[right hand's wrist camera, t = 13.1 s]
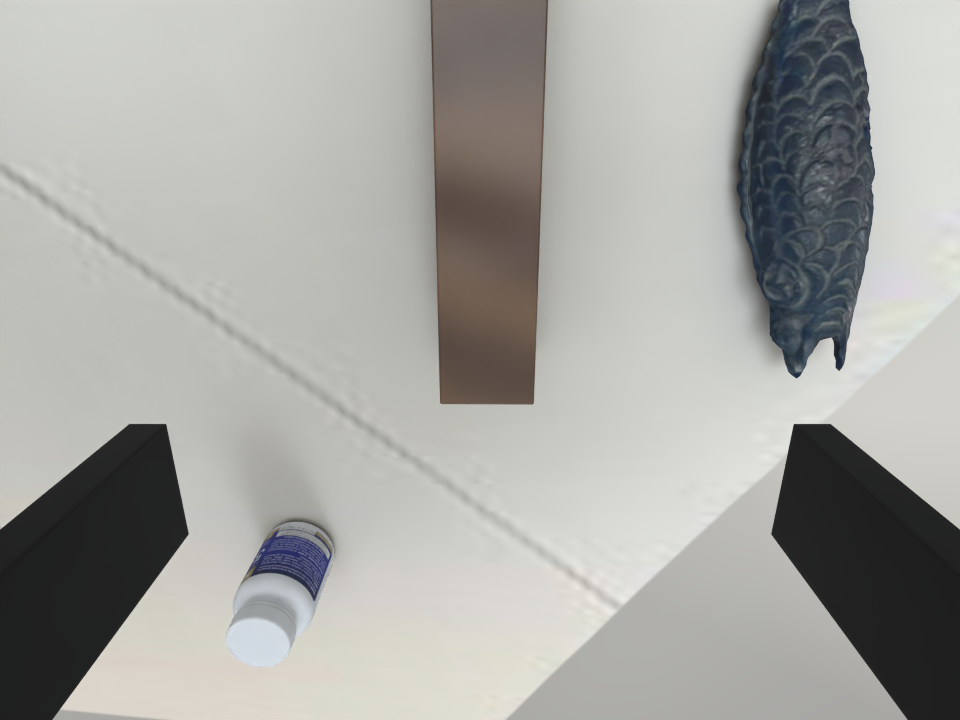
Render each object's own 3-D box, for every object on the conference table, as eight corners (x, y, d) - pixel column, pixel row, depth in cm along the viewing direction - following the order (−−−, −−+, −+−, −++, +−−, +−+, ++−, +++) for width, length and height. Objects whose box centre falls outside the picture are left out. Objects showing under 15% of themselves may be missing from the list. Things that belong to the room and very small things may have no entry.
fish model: (730, 367, 39) (764, 397, 34) (727, 6, 32) (770, -18, 27) (833, 353, 39) (883, 382, 34) (854, -15, 32) (919, -43, 27)
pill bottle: (264, 516, 44) (211, 604, 35) (335, 522, 44) (300, 612, 35) (266, 574, 46) (216, 672, 37) (335, 580, 46) (301, 678, 37)
